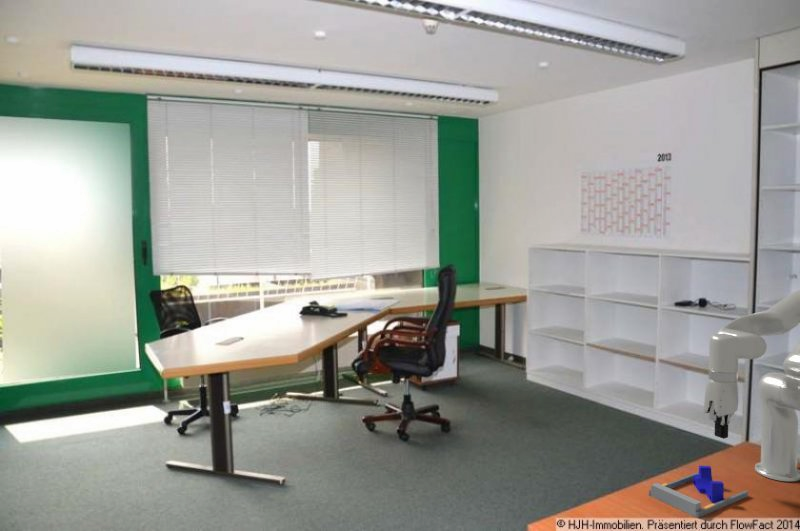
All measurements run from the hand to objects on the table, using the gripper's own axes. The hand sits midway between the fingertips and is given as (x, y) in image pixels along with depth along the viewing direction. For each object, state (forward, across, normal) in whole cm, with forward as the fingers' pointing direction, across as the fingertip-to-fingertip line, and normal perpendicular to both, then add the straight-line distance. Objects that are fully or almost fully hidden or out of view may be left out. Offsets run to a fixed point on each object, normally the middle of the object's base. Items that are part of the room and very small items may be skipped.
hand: (721, 436), depth 178 cm
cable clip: (+16, +7, +1) cm, 17 cm away
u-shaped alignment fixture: (+16, +10, 0) cm, 19 cm away
